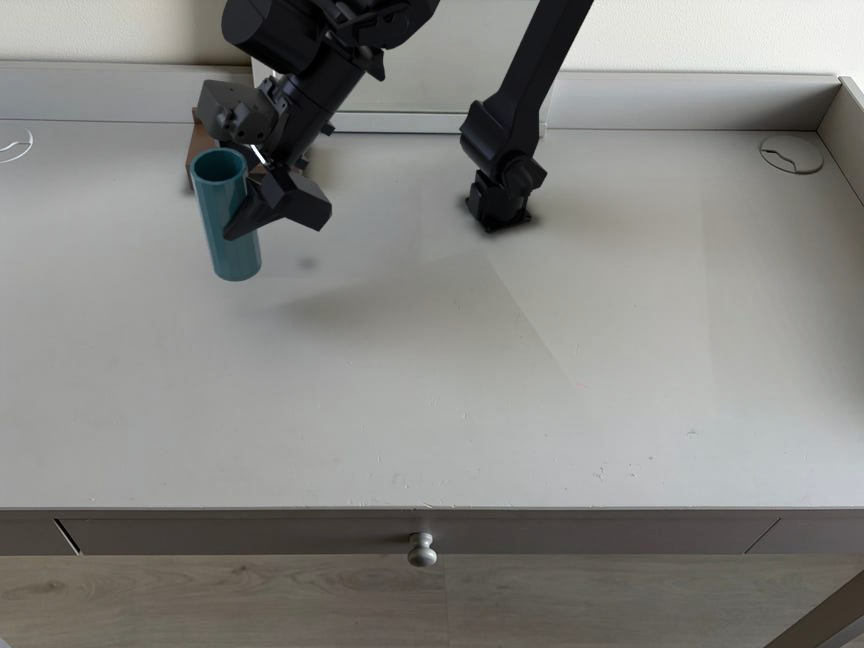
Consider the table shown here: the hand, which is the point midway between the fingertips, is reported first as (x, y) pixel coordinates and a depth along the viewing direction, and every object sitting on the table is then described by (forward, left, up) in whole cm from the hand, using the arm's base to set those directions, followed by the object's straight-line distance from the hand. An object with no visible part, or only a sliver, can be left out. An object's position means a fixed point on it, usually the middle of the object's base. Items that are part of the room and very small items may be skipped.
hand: (215, 221), depth 77 cm
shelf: (-9, -23, -13) cm, 28 cm away
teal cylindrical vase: (-1, 0, -7) cm, 7 cm away
